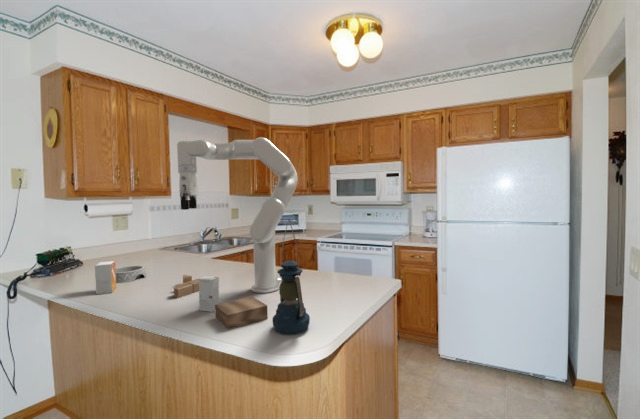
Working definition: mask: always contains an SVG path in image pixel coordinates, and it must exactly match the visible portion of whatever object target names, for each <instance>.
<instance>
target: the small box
mask: <svg viewBox="0 0 640 419" xmlns="http://www.w3.org/2000/svg"><path fill="white" fill-rule="evenodd" d="M115 268H116V261H114V260H110V261H99V262H98V263H96V264H95V265H94V274H95V293H96V295H102V294H110V293H111V294H112V293H113V292H114V291H115V290H116V289H117V283H116V269H115Z"/></svg>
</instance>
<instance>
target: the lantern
mask: <svg viewBox="0 0 640 419" xmlns="http://www.w3.org/2000/svg"><path fill="white" fill-rule="evenodd" d="M288 224H290V229H291V232H292V235H293V236H292V237H293V238H294V241H295V246H296V258H297V260H296V261H294V260H286V261H284V241H285V236H286V234H287V230H288ZM281 245H282V247H281V250H282V251H281V252H282V253H281V254H282V257H281V259H282V260H281V263H280V269H278V270H277V274H279V278H280V279H281V278H282V279H281V282H280V283H279V286H280V287H279V289H278V291H279V300H280V301H279V302H280V303H278V304H277V309H275V314H274V316H272V325H273V326H272V327H273V328H274V330H275V332H277V333H278V334H280V335H288V336H290V335H291V336H292V335H297V334H301V333H304V332H305V331H306V330H307V329H308V328H309V325H310V320H311V318H310V315H309V313H307V310H306V308H305V304H304V301H303V300H304V299H303V295H302V288H301V287H302V286H301V279H300V276H301V274H302V273H303V269H302V268H301V267H299V266H300V264H299V254H298V253H299V252H298V250H299V249H298V244H297V241H296V236H295V233H294V230H293V226H292V223H291V219H290V218H288V220H287V223H286V228H285V232H284V235H283V239H282V244H281Z"/></svg>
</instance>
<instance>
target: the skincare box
mask: <svg viewBox="0 0 640 419" xmlns="http://www.w3.org/2000/svg"><path fill="white" fill-rule="evenodd" d="M219 278H220V277H219V276H213V275H212V276H210V275H204V276H202V277H200V278H198V279H199V291H198V295H199V296H198V298H199V300H198V301H199V302H198V303H199V304H198V305H199V306H198V307H199V311H203V312H210V313H211V312H215V305H217V304H220V299H219V298H220V295H219V294H220V291H219V290H220V289H219V288H220V286H219V285H220V284H219V282H220V280H219Z"/></svg>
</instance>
